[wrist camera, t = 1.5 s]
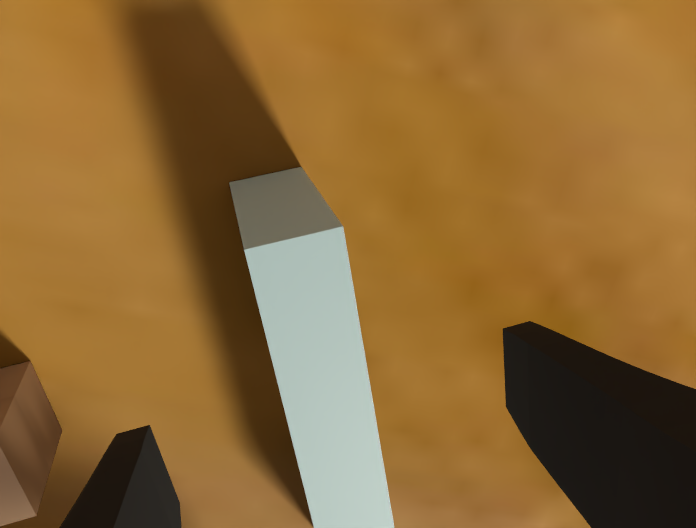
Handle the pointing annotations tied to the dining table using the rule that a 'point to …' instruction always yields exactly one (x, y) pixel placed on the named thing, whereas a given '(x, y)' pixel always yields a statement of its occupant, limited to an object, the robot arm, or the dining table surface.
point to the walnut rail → (24, 442)
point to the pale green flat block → (315, 345)
